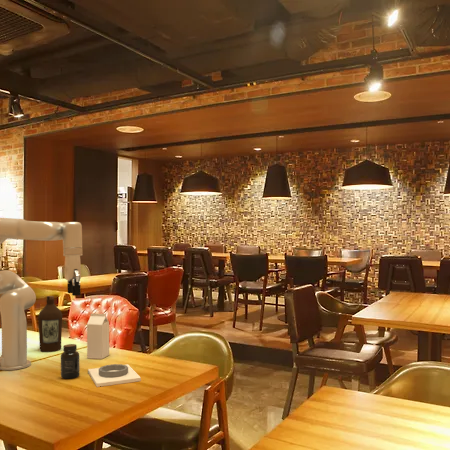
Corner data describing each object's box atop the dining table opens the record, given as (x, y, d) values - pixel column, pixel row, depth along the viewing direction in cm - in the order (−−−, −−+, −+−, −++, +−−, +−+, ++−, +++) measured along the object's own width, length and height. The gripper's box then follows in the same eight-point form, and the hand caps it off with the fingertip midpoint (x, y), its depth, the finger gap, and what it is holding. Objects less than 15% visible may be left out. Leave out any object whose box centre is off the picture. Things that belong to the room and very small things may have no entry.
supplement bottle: (83, 375, 190) (83, 344, 190) (70, 380, 184) (70, 348, 184) (69, 373, 193) (69, 342, 193) (56, 378, 187) (56, 346, 187)
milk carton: (102, 359, 213) (102, 315, 213) (87, 358, 214) (86, 314, 215) (109, 355, 220) (109, 312, 220) (94, 354, 221) (94, 312, 222)
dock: (96, 387, 176) (96, 378, 176) (87, 372, 194) (87, 364, 194) (140, 381, 182) (140, 372, 182) (128, 367, 200) (128, 359, 200)
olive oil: (38, 348, 234) (38, 295, 234) (62, 346, 238) (61, 294, 238) (38, 353, 224) (37, 298, 224) (62, 351, 228) (62, 297, 228)
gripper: (59, 252, 207) (60, 292, 207) (67, 253, 192) (68, 297, 192) (77, 251, 211) (79, 291, 211) (86, 252, 195) (88, 295, 195)
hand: (74, 294), depth 201 cm, fingers open, 9 cm apart
